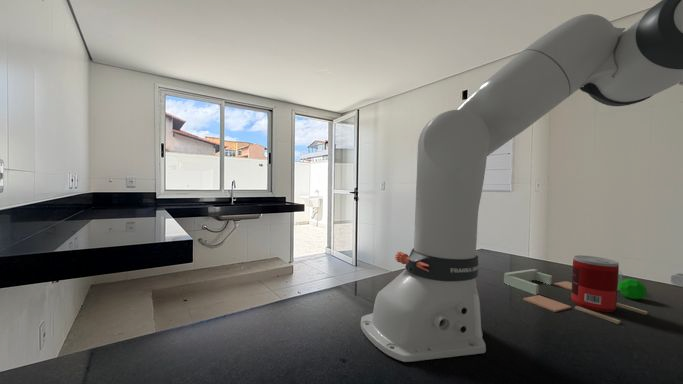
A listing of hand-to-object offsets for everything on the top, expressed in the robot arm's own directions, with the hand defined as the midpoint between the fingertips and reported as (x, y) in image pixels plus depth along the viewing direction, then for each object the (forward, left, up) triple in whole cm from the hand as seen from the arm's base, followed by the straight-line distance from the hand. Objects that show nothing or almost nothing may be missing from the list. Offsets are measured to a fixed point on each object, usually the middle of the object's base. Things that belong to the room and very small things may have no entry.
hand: (674, 278), depth 55 cm
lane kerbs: (0, +12, -10) cm, 16 cm away
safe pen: (0, +26, -10) cm, 28 cm away
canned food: (0, +12, -11) cm, 16 cm away
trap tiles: (0, +19, -10) cm, 22 cm away
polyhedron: (+16, +11, -11) cm, 22 cm away
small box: (+21, +18, -11) cm, 30 cm away
